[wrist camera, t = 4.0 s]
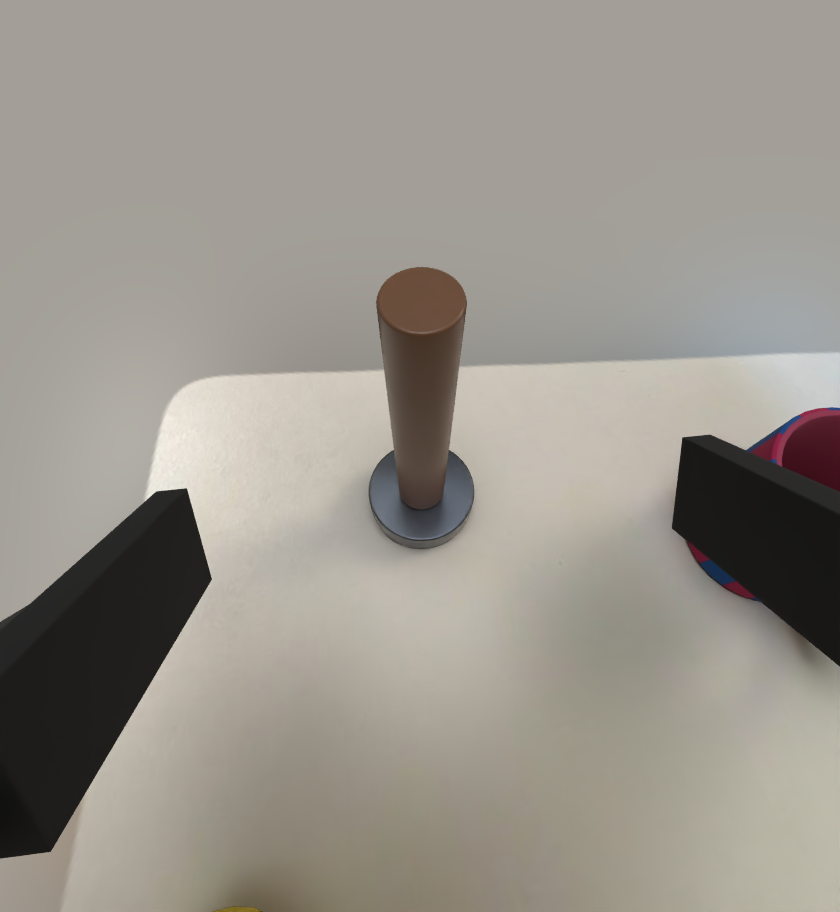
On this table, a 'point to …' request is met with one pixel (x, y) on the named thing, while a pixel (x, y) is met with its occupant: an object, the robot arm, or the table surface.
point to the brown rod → (421, 410)
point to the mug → (794, 465)
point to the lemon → (238, 909)
